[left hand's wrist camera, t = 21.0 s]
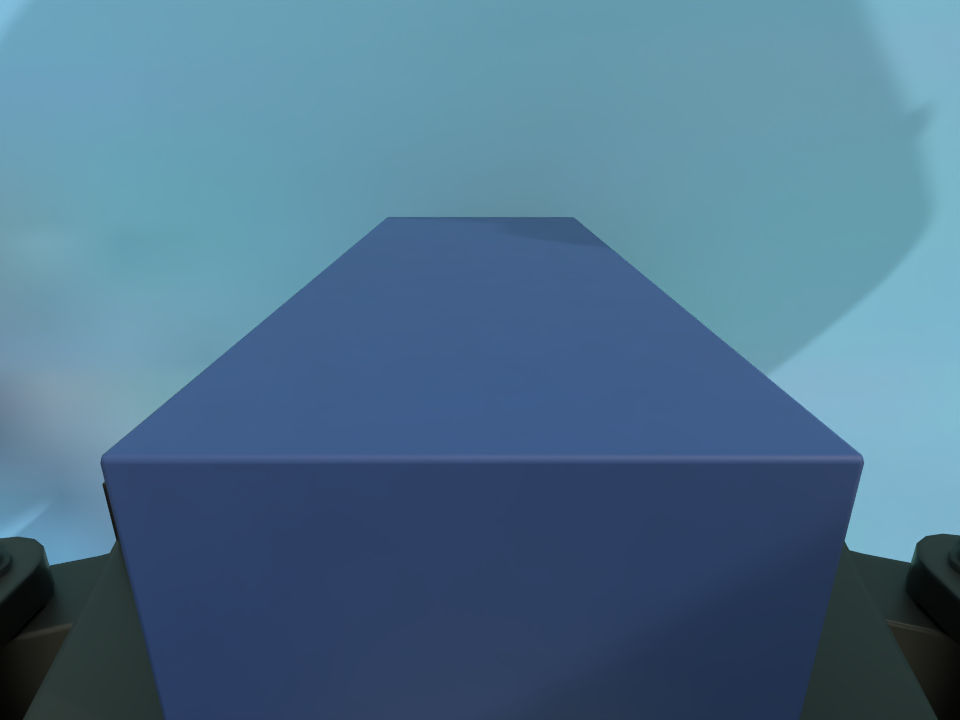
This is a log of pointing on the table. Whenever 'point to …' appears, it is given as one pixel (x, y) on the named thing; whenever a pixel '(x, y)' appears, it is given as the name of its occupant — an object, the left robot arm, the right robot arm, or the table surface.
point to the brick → (481, 499)
